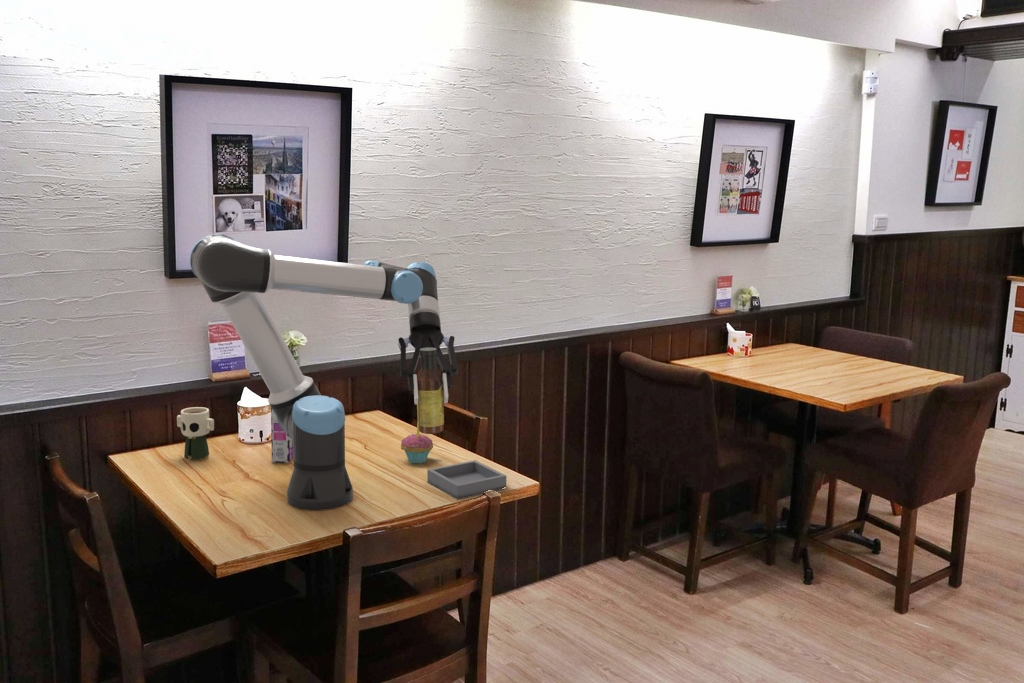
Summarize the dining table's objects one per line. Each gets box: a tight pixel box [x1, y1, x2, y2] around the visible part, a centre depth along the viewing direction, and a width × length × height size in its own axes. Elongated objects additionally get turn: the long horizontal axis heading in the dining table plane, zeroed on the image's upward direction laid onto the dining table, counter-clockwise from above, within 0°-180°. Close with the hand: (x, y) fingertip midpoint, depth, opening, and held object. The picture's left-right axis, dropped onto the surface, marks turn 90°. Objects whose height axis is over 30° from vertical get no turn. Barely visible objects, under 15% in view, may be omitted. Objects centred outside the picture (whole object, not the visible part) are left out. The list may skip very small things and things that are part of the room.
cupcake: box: [400, 421, 434, 464], centre depth 243 cm, size 9×8×12 cm
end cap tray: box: [427, 459, 508, 500], centre depth 226 cm, size 14×14×3 cm
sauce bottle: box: [416, 347, 445, 435], centre depth 216 cm, size 7×6×20 cm
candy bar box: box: [270, 406, 294, 464], centre depth 243 cm, size 11×5×16 cm, turn 2°
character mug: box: [176, 406, 215, 461], centre depth 241 cm, size 11×7×13 cm, turn 74°
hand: (431, 400), depth 213 cm, fingers closed on sauce bottle, 6 cm apart
